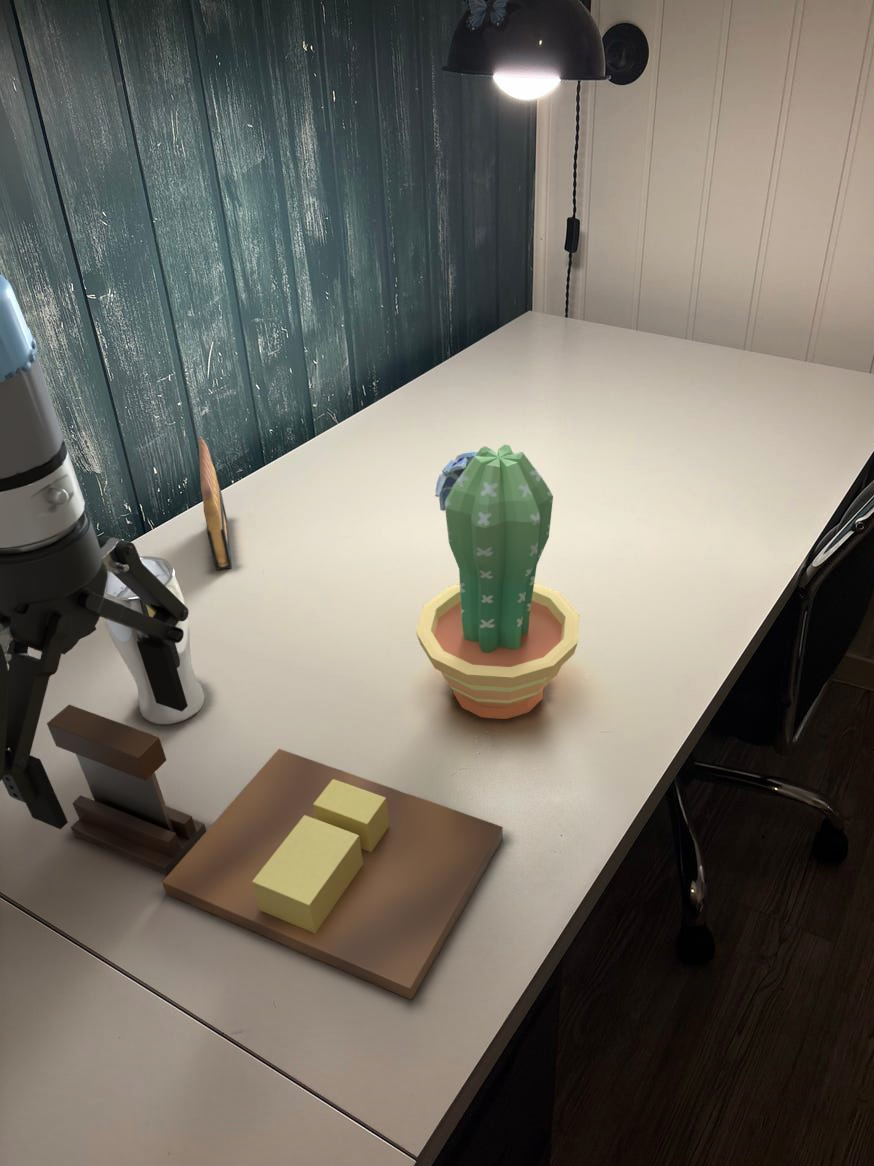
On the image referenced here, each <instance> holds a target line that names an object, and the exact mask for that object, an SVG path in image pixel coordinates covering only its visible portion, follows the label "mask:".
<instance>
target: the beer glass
mask: <svg viewBox="0 0 874 1166" xmlns="http://www.w3.org/2000/svg"><path fill="white" fill-rule="evenodd" d="M139 557H140V559H141V562H142V564H143V565H144V566H145V567H146V568H147V569H148V570H149V571H150V572H151V573H152V574H154V575H155V576H156V577H157V578H158V579H159V580H160V581H161V582H162V583H163V584H164V585H165V586H166V587H167V588H168V589H169V590H170V591H171V592H172V593H173V594H174V595H175V596H176V597H177V598H178V599H179V600H180V601H181V602H182V603H183V604H184V605H185V606H186V607H187V604H186V601H185V598H184V594H183V591H182V589H181V585H180V583H179V580H178V579H177V575H176V573H175V569H174V566H173V565H172V564H171V563H170V562H169V561H168V560H166V559H163V558H161V557H157V556H139ZM107 573H108V577H107V582H106V587H105V592H104V597H105V598H107V599H109V600H112V601H114V602H117V603H119V604H122V605H124V606H125V607H128V608H130V609H132V610H135V611H137V612H140V613H142V614H145V615H147V616H150V617H153V616H154V614H155V612H154V611H153V610H152V609H151V608H150V607H148V606H147V605H146V604H145V603H144V602H143V601H142V600H141V599H140V598H139V597H138V596H137V595H135V594H134V593H133V592H132V591H131V590H130V589H129V588H128V587H127V586H126V585H125V584H124V583H122V582H121V581H120V580H119V579H118V578H117V577H116V576H115V575H114V574H113V573H112V572H109V571H107ZM104 621H105V625H106V627H107V631H108V633H109V635H110V639H111V640H112V642H113V643H114V646H115V648H116V650H117V652H118V654H119V655H120V657H121V659H122V660H123V662H124V664H125V665H126V667H127V668H128V671H129V673H130V674H131V676H132V677H133V679H134V681H135V684H136V688H137V693H138V706H139V711H140V714H141V715H142V717H143V718H144V720H146V721H148V722H149V723H151V724H155V725H174V724H178V723H182V722H184V721H186V720H189V719H190V718H192V717H193V716H194V715H195V714H197V713H198V712H199V711H200V710H201V709H202V707H203V706H204V702H205V692H204V689H203V687H202V686H201V684H200V682H199V680H198V678H197V677H196V674H195V671H194V669H193V663H192V647H191V627H190V618H189V616H188V617H187V619H186V620H185V621H179V622H178V623H177V625H176V626H175V627H178V628H181V629H182V630H183V632H184V635H183V639H182V640H181V641H180V642H179V643H175V644H176V648H177V651H178V655H179V658H180V666H179V667H178V668H177V671H178V674H179V678H180V681H181V684H182V688H183V691H184V694H185V698H186V701H187V705H188V706H187V707H186V708H185V709H184V710H183V711H182V712H181V711H179V710H176V709H173V708H170V707H167V706H164V705H161V704H158V703H156V701H155V698H154V695H153V691H152V688H151V685H150V682H149V679H148V676H147V673H146V670H145V667H144V663H143V660H142V657H141V654H140V651H139V648H138V645H137V641H138V640H139V639H140V638H142V637H146V638H148V635H147V634H145V633H142V632H140V631H137V630H134V629H132V628H129V627H126V626H124V625H121V624H118V623H116V622H113V621H110V620H108V619H105V618H104Z"/></svg>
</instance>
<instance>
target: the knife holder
mask: <svg viewBox="0 0 874 1166" xmlns="http://www.w3.org/2000/svg"><path fill="white" fill-rule="evenodd" d="M71 803H72V806H73V808H74V811H75V813H76V815H77V818H78V819H77V820H76V821H75V822H74V823H73V824H72V826H70V830H71V832H72V834H73V836H74V837H78V838H80V839H82V840H85V841H87V842H89V843H92V844H94V845H96V846H99V847H101V848H104V849H106V850H108V851H109V852H112V853H115V854H118V855H119V856H122V857H125V858H127V859H130V860H131V861H133V862H137V863H139V864H141V865H143V866H146V867H149V868H151V869H153V870H156V871H157V872H160V873H163V874H165V875H166V876H168V875H169V874H170V872H171V871H172V870H173V869H174V868H175V867H176V866H177V864H178V863H179V862H180V861H181V860H182V859H183V858H184V856H185V855H186V854H187V853H188V852H189V851H190V850H191V848H192V847H193V846H194V845H195V844H196V843H197V842H198V840H199V839H200V838H201V837H202V836H203V835H204V834H205V832H206V831H207V827H206V825H205V823H204V822H201V821H199V820H196V819H194V817H193V816H192V815H190V814H189V813H188V814H187V813H185V812H184V811H183V812H182V811H180V810H178V809H176V808H173V807H170V806H167V805H166V808H167V811H168V814H169V817H170V820H171V823H172V826H173V829H174V832H175V833H173V832H171V831H168V830H166V829H164V828H161V827H159V826H156V825H154V824H151V823H149V822H146V821H144V820H141V819H139V818H136V817H134V816H131V815H129V814H126V813H124V812H121V811H119V810H117V809H114V808H112V807H109V806H107V805H104V804H102V803H99V802H97V801H94V799H92V798H90V797H87V796H85V795H82V794H80V795H79V796H77V798H76V799H75V800H73V802H71Z"/></svg>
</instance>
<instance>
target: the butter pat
mask: <svg viewBox="0 0 874 1166" xmlns="http://www.w3.org/2000/svg"><path fill="white" fill-rule="evenodd" d="M313 806H314V811H315V817H316V820H319V821H322V822H324V823H327V824H330V825H332V826H335V827H338V828H340V829H343V830H346V831H348V832H351V833H354V834H356V835H359V839H360V845H361V849H363V850H366V851H368V852H372V851H373V849H374V848H375V846H376V845H377V843H378V842H379V840H380V839H381V837H382V836H383V835H384V833H385V832H386V830H387V829H388V827H389V820H388V811H387V802H386V798H385V797H382V796H380V795H377V794H374V793H371V792H368V791H365V790H363V789H360V788H357V787H354V786H351V785H349V784H346V783H343V782H340V781H337V780H334V779H333V780H332V781H331V782H330V783H329V785H328V786H327V787H326V788H325V790H324V791H323V792H322V794H321V795H320V796H319V797H318V799H317V800H316V801H315V802H314V804H313Z"/></svg>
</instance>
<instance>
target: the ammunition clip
mask: <svg viewBox="0 0 874 1166" xmlns="http://www.w3.org/2000/svg"><path fill="white" fill-rule="evenodd" d="M198 455H199V456H198V458H199V474H200V491H201V496H202V497H201V498H202V502H203V503H202V504H203V513H204V518H205V522H206V534H207V539H208V542H209V547H210V551H211V555H212V559H213V564H214V569H215V570H216V571H218V570H223V569H231V568H233V565H232V554H231V543H230V541H231V540H230V532H229V521H228V517H227V513H226V512H227V511H226V509H225V507H226V506H225V503H224V498H223V494H222V490H221V487H220V485H219V480H218V477H217V472H216V469H215V467H214V465H213V461H212V459H211V458H212V457H211V454H210V451H209V448H208V445H207V444H206V442H205V440H204V439H203V438H202V437H200V438H199V441H198Z"/></svg>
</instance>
